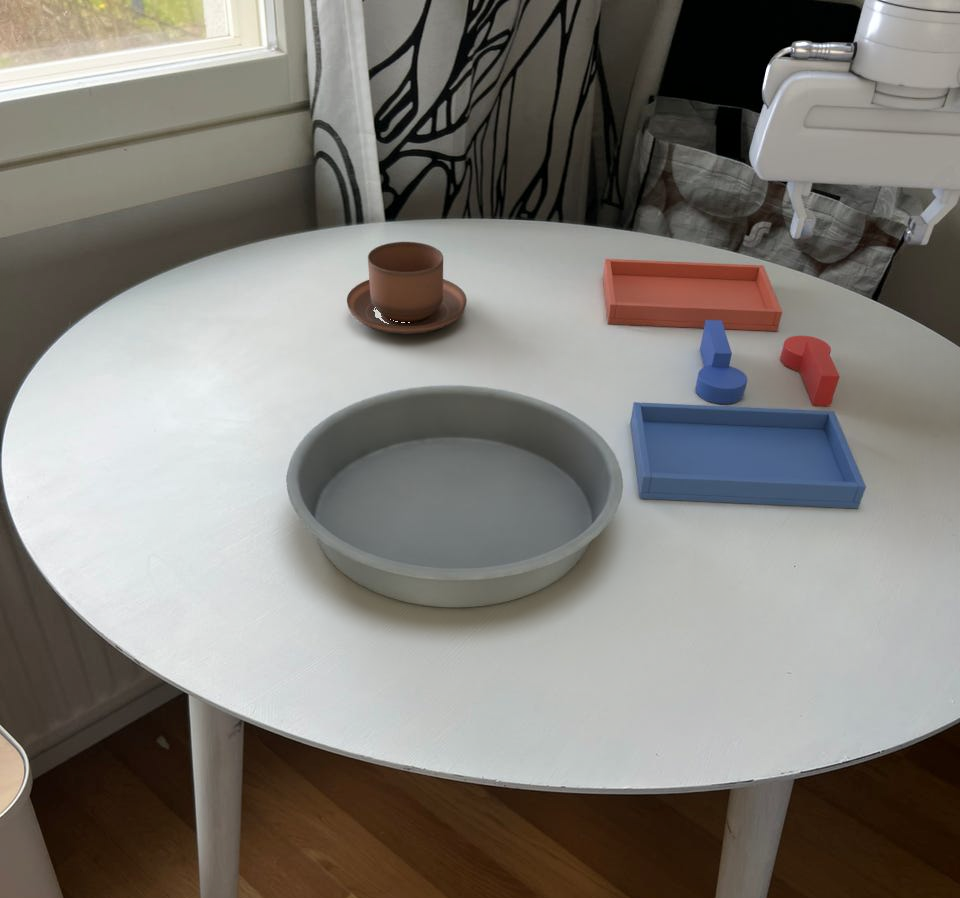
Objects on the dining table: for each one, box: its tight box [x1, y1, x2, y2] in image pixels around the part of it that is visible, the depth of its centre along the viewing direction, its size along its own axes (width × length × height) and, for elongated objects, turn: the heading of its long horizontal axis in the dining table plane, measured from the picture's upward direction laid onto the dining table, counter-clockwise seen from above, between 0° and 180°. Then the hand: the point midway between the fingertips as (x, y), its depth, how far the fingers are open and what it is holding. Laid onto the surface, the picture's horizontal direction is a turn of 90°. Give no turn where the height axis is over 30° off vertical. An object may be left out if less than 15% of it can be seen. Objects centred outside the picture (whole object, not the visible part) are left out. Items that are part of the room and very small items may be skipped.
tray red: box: [602, 258, 783, 332], centre depth 100 cm, size 17×11×2 cm, turn 87°
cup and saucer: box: [346, 241, 468, 335], centre depth 94 cm, size 12×12×6 cm
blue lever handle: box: [694, 320, 748, 405], centre depth 88 cm, size 10×4×3 cm, turn 177°
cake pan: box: [285, 384, 624, 608], centre depth 71 cm, size 25×25×4 cm
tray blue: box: [630, 401, 867, 510], centre depth 78 cm, size 17×11×2 cm, turn 87°
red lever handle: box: [779, 335, 840, 407], centre depth 89 cm, size 10×4×3 cm, turn 177°
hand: (857, 239), depth 78 cm, fingers open, 8 cm apart
